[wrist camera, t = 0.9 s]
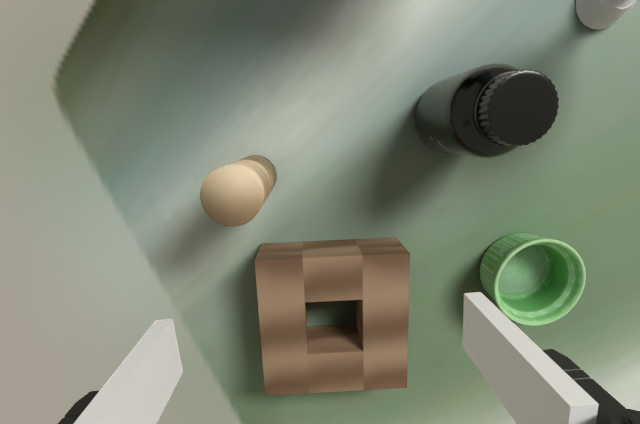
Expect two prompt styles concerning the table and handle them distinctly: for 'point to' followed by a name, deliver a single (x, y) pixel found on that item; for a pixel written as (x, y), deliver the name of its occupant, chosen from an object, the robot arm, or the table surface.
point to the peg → (238, 190)
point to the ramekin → (532, 277)
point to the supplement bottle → (487, 111)
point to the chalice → (602, 12)
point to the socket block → (333, 340)
